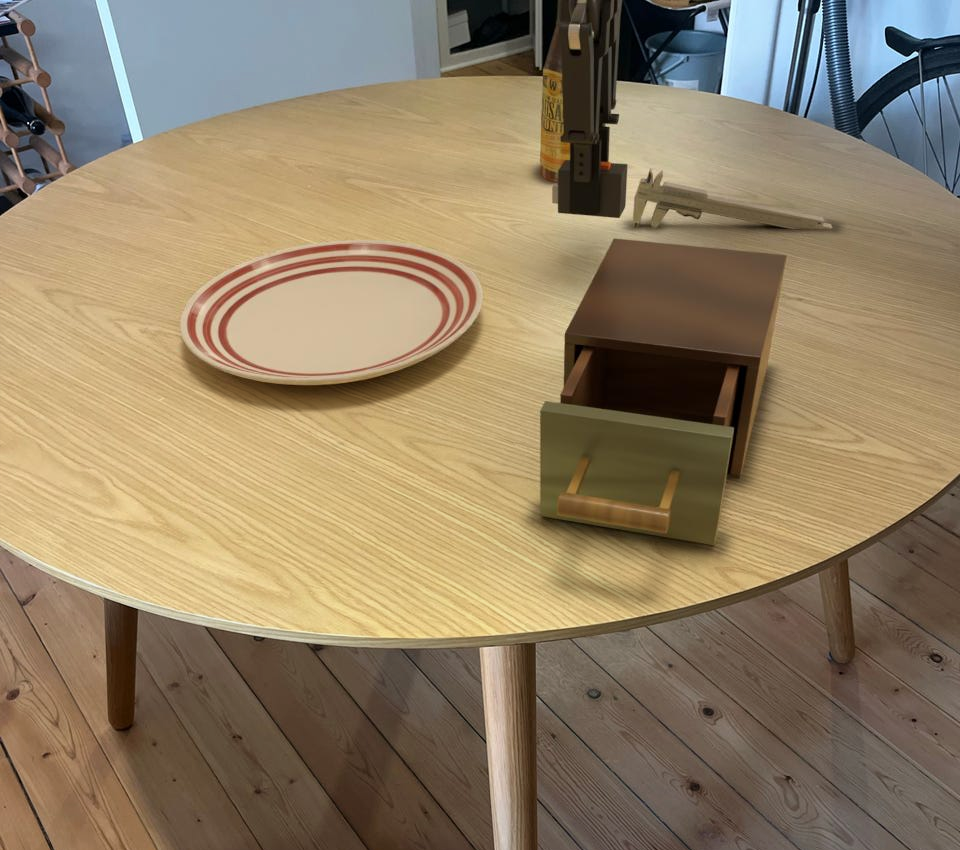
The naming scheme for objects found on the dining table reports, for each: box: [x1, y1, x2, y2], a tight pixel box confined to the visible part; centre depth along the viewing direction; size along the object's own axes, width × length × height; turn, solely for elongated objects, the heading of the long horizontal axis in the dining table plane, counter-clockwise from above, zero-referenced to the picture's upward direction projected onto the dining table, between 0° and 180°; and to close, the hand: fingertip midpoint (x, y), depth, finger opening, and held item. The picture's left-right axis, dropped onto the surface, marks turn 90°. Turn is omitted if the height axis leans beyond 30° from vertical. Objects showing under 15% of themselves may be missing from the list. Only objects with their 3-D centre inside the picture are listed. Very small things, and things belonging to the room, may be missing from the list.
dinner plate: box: [179, 239, 484, 386], centre depth 93 cm, size 28×27×3 cm
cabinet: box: [563, 237, 788, 479], centre depth 79 cm, size 16×14×11 cm
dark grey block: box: [551, 160, 629, 219], centre depth 96 cm, size 7×3×4 cm, turn 72°
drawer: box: [539, 345, 745, 546], centre depth 71 cm, size 20×12×9 cm, turn 162°
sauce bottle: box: [539, 0, 570, 183], centre depth 110 cm, size 6×6×20 cm
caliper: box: [632, 167, 833, 230], centre depth 104 cm, size 20×1×6 cm, turn 83°
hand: (588, 205), depth 97 cm, fingers closed on dark grey block, 3 cm apart
